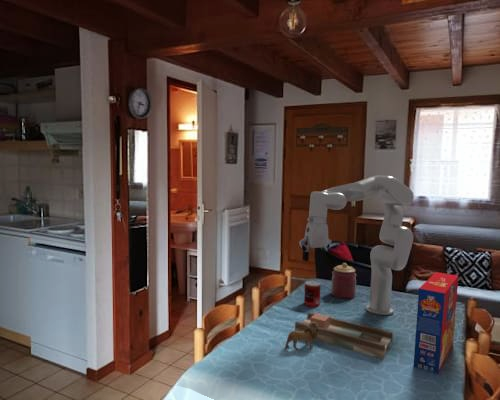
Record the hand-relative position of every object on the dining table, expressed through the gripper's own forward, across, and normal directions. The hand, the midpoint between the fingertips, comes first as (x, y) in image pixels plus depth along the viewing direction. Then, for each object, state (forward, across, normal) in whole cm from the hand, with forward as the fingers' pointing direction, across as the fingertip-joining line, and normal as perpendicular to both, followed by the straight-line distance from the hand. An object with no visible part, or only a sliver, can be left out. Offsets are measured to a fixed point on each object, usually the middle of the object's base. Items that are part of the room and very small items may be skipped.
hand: (314, 260), depth 168 cm
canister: (+27, +42, +22) cm, 55 cm away
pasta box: (+27, +23, -44) cm, 57 cm away
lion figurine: (+29, -16, -15) cm, 37 cm away
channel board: (+28, +2, -18) cm, 33 cm away
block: (+25, -2, -10) cm, 27 cm away
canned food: (+28, +17, +18) cm, 38 cm away
